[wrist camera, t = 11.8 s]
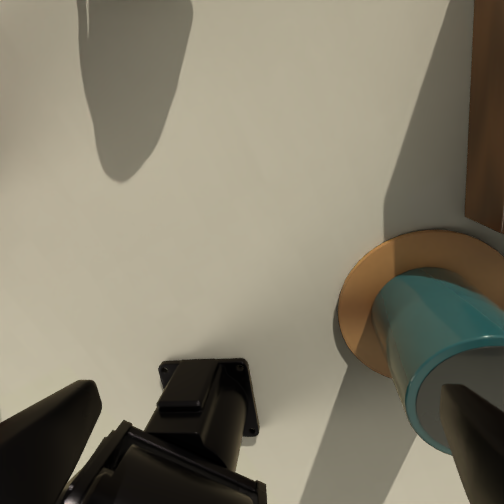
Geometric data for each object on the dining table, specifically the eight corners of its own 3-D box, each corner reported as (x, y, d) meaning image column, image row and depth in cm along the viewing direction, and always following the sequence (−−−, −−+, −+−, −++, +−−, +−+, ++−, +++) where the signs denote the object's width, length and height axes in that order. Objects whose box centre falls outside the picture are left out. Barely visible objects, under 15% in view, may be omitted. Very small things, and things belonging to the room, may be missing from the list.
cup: (477, 355, 19) (567, 464, 13) (372, 358, 21) (406, 461, 14) (483, 261, 18) (591, 333, 11) (368, 271, 19) (404, 341, 12)
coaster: (509, 377, 20) (513, 381, 20) (343, 380, 22) (343, 385, 22) (525, 219, 17) (531, 221, 17) (331, 239, 19) (332, 241, 19)
